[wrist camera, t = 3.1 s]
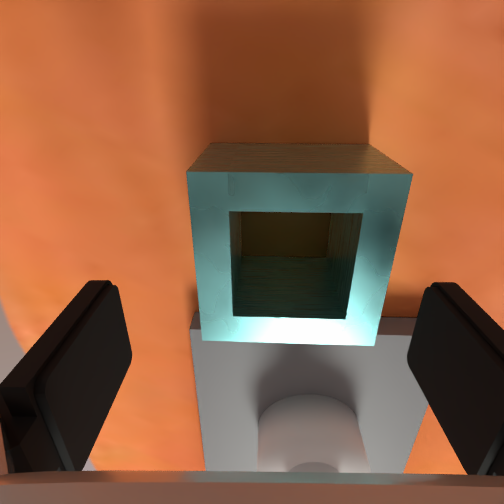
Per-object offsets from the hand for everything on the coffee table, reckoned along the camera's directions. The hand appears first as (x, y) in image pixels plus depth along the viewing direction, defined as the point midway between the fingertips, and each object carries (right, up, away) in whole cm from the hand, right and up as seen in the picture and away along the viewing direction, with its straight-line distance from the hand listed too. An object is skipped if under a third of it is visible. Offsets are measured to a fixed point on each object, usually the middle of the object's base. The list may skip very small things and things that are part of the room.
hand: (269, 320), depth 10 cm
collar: (+1, +4, +6) cm, 7 cm away
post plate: (+3, -9, +13) cm, 16 cm away
